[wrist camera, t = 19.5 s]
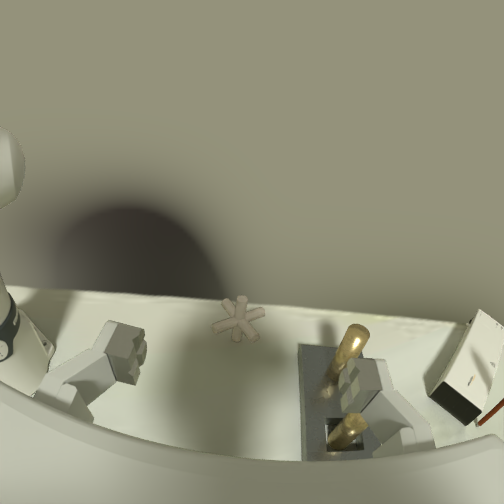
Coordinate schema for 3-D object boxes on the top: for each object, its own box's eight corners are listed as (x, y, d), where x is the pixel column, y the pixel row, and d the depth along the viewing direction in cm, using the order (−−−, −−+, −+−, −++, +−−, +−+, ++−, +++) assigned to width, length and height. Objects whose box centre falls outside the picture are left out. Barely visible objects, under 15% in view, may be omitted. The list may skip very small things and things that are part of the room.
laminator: (463, 428, 39) (482, 412, 35) (422, 396, 46) (438, 377, 43) (495, 345, 59) (507, 329, 55) (465, 322, 66) (476, 305, 63)
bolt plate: (376, 470, 33) (423, 436, 27) (302, 474, 33) (334, 444, 26) (356, 357, 54) (383, 309, 47) (297, 353, 54) (317, 301, 47)
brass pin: (323, 442, 38) (357, 403, 31) (334, 427, 41) (368, 384, 34) (342, 453, 36) (381, 416, 29) (352, 437, 39) (390, 396, 32)
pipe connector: (244, 313, 61) (251, 274, 56) (273, 347, 54) (284, 308, 49) (200, 328, 56) (201, 288, 50) (226, 367, 49) (231, 328, 44)
